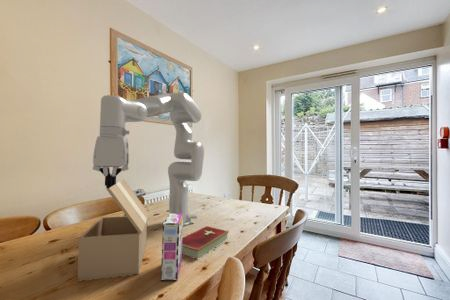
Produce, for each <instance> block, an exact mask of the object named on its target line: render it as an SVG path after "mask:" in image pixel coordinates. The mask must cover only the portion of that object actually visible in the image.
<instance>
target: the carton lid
mask: <svg viewBox="0 0 450 300" xmlns="http://www.w3.org/2000/svg"><path fill="white" fill-rule="evenodd" d="M106 190H107V192H108V193H109V195H110V196H111V197H112V199H113V200H114V201H115V203H116V204H117V206H118V207H119V208H120V210H122V212H123V213H124V215H126V216H127V218H128V219H129V220H130V222H131V223H132V224H133V226H134V227H135V228H136V230H137V231H138V232H139V234H140V233H142V231H143V228H144V226H145V224H146V221H147V222H148V218H149V215H150V213H149V211H148V210H147V208H145V207H146V206H145V205H144V204H143V202H142V201H141V200H140V198H139V199H138V198H137V196H136V195H135V193H134V192H133V191H134V190H133V189H132V188H131V187H130V185H129V184H128V183H127V181H126V180H125V179H122V180H120V181H118V182H116V184H115V185H113V186H112V187H110V188H108V189H106ZM140 201H141V202H142V203H141V202H140Z"/></svg>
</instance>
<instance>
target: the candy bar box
mask: <svg viewBox="0 0 450 300" xmlns="http://www.w3.org/2000/svg"><path fill="white" fill-rule="evenodd" d="M183 229H184V226H183V214H180V213H174V214H169V213H168V215H167V217H166V219H165V220H164V221H163V223H162V238H161V239H162V242H161V243H162V244H161V245H162V246H161V268H160V269H161V271H160V272H161V274H160V281H161V280H177V281H178V279H179V274H180V269H181V265H182V261H183V254H182V238H183V237H184V236H183V235H184V234H183V233H184V232H183V231H184V230H183Z"/></svg>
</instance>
